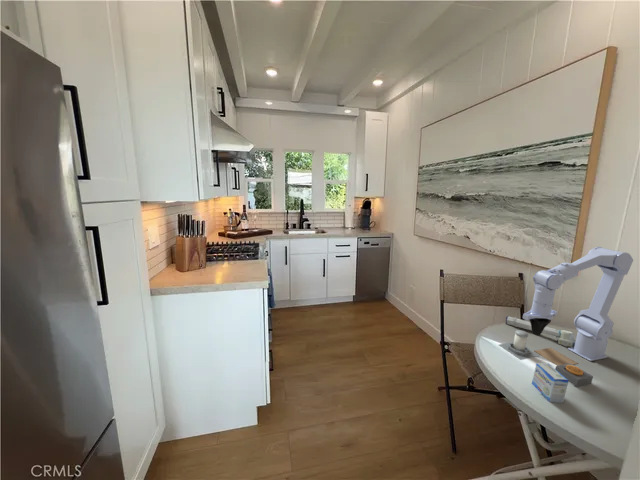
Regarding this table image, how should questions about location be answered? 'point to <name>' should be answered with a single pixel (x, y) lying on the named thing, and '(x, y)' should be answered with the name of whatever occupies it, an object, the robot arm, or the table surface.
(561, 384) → the medicine box
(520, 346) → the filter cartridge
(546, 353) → the tan board
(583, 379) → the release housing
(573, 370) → the release button
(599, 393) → the table surface
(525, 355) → the cartridge socket
